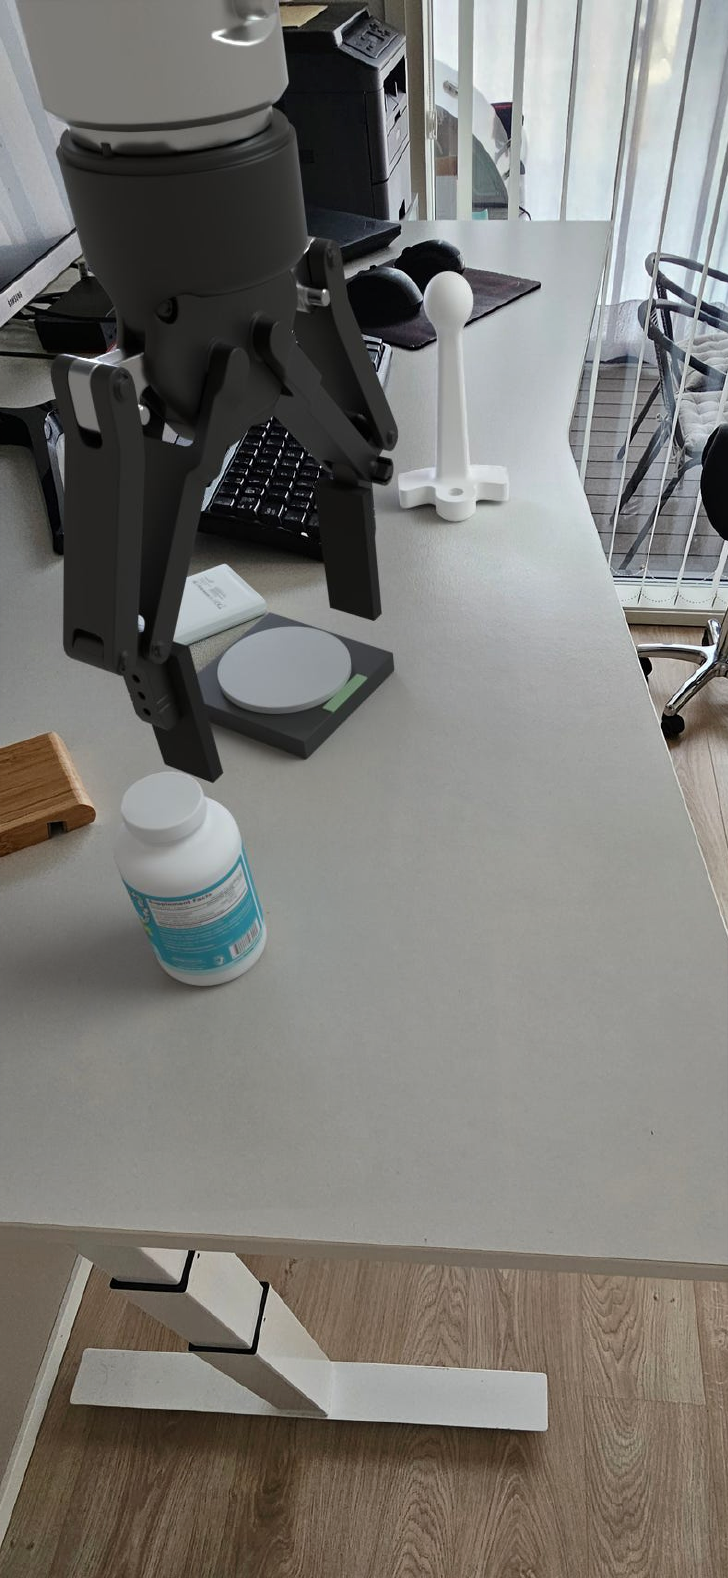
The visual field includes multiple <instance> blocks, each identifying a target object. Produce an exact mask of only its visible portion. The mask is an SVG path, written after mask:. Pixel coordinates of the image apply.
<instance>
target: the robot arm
mask: <svg viewBox="0 0 728 1578" xmlns="http://www.w3.org/2000/svg"><path fill="white" fill-rule="evenodd" d="M14 2H15V7H16V11H17V15H18V18H19V22H20V26H21V30H22V34H23V38H24V41H25V45H26V48H27V53H28V56H29V61H30V65H31V68H32V71H33V75H34V80H35V83H36V87H37V90H38V94H39V98H40V102H41V105H42V109H43V110H44V111H46V112H47V113H48V114H49V115H51V116H52V117H53V118H54V119H55V120H56V121H58V122H61V123H63V124H66V127H67V128H65V130H64V131H63V132H62V133H61V135H60V137H59V144H58V145H57V147H56V150H55V155H56V159H57V164H58V167H59V172H60V175H61V178H62V182H63V186H64V190H65V193H66V197H67V200H68V205H69V209H70V212H71V215H72V219H73V224H74V226H75V227H74V228H75V231H76V234H77V239H78V242H79V245H80V249H81V253H82V256H83V259H84V263H85V264H86V266H87V268H88V270H89V272H91V274H92V275H93V276H94V277H95V278H96V280H97V281H98V283H99V284H100V285H101V286H102V288H103V290H104V291H105V292H106V294H107V295H108V296H109V299H110V301H111V303H112V305H113V308H114V312H115V320H116V345H115V350H112V351H109V352H106V353H105V354H102V355H98V356H97V357H93V358H90V359H88V358H83V357H80V356H75V355H71V354H66V353H62V354H58V355H57V356H56V357H54V359H53V361H52V362H51V366H50V371H49V372H50V381H51V386H52V391H53V393H54V397H55V402H56V406H57V410H58V415H59V419H60V423H61V427H62V432H63V435H64V436H63V437H64V439H63V441H64V445H63V446H64V449H63V451H64V453H63V459H64V460H63V465H64V466H63V574H62V575H63V580H62V581H63V584H62V585H63V587H62V588H63V589H62V591H63V593H62V597H63V598H62V599H63V600H62V608H63V609H62V617H63V618H62V646H63V651H64V653H65V655H66V656H67V657H69V658H70V659H72V660H75V661H78V662H81V663H84V664H85V665H89V666H92V667H95V668H97V669H100V670H103V671H106V672H109V673H111V674H114V675H117V676H120V677H123V680H124V683H125V687H126V689H127V692H128V694H129V698H130V700H131V702H132V703H131V704H132V707H133V710H134V712H135V714H136V716H137V717H138V718H139V720H141V721H142V722H144V723H147V724H150V725H151V727H152V730H153V733H154V737H155V740H156V742H157V745H158V749H159V751H160V754H161V757H162V760H163V764H164V766H167V767H170V768H172V769H175V770H178V771H179V772H180V771H181V772H183V773H184V774H187V775H189V776H193V777H196V778H198V779H201V780H204V781H206V782H209V783H212V784H214V783H215V782H216V781H217V780H219V779H220V777H221V776H222V775H223V774H224V770H223V766H222V763H221V758H220V755H219V752H218V747H217V743H216V740H215V736H214V733H213V729H212V725H211V722H210V721H209V718H208V714H207V710H206V707H205V703H204V699H203V696H202V692H201V688H200V684H199V681H198V677H197V673H198V672H197V670H196V666H195V663H194V659H193V655H192V652H191V651H192V650H191V648H190V646H189V645H183V644H180V643H177V642H174V641H173V639H174V634H175V629H176V625H177V620H178V616H179V611H180V606H181V602H182V597H183V592H184V588H185V583H186V579H187V577H188V574H189V568H190V564H191V559H192V554H193V552H194V551H193V550H194V546H195V542H196V536H197V532H198V527H199V523H200V519H201V514H202V509H203V504H204V499H205V495H206V490H207V486H208V485H209V484H210V483H211V482H213V481H215V480H216V479H218V477H219V476H220V475H221V472H222V470H223V465H224V462H225V461H224V460H225V456H226V452H227V449H230V448H232V447H234V445H236V444H237V443H238V442H240V441H241V440H242V439H243V437H244V436H245V435H246V433H247V432H248V431H249V430H250V429H251V428H252V426H254V425H259V424H265V423H266V422H268V421H270V419H272V418H273V417H274V418H276V419H277V421H279V423H280V424H281V425H282V426H283V427H284V428H285V429H286V431H288V433H290V434H291V436H292V437H293V438H294V439H295V440H296V441H297V442H298V443H299V444H300V445H301V446H302V448H304V450H305V451H306V452H307V453H308V454H309V455H310V456H311V457H312V458H313V459H314V460H315V461H316V463H318V465H319V466H321V468H322V469H323V470H324V471H326V472H328V473H331V478H329V477H326V476H320V477H319V479H317V480H316V481H314V482H313V484H312V485H313V492H314V498H315V507H316V514H317V515H316V516H317V521H318V530H319V536H320V544H321V545H320V546H321V553H322V559H323V567H324V573H325V581H326V589H327V596H328V603H329V604H328V605H329V608H330V609H332V610H336V611H339V612H343V613H346V614H349V615H352V616H356V617H359V618H362V619H365V620H369V621H371V622H372V621H373V622H375V621H376V620H377V619H378V618H380V616H381V615H382V614H383V611H382V602H381V600H382V598H381V589H380V577H379V566H378V565H379V564H378V554H377V544H376V532H377V522H376V511H375V499H374V498H375V497H374V487H373V484H376V485H379V486H384V487H386V486H388V485H389V484H390V483H391V482H392V479H393V476H394V470H395V469H394V461H393V459H392V458H390V457H385V456H381V454H382V453H383V451H387V452H392V451H394V450H395V447H396V445H397V444H398V439H399V428H398V425H397V423H396V419H395V417H394V414H393V412H392V410H391V409H392V408H391V406H390V404H389V402H388V400H387V396H386V393H385V391H384V389H383V386H382V383H381V381H380V378H379V377H378V373H377V371H376V367H375V365H374V363H373V361H372V358H371V357H372V356H371V355H370V352H369V350H368V348H367V345H366V342H365V339H364V337H363V334H362V332H361V329H360V326H359V324H358V321H357V319H356V316H355V313H354V310H353V309H352V305H351V303H350V300H349V296H348V289H347V282H346V277H345V276H346V274H345V270H344V269H345V268H344V263H343V256H342V251H341V247H340V244H339V243H338V241H337V240H334V239H328V238H322V237H316V236H309V235H308V226H307V219H306V218H307V217H306V210H305V209H306V208H305V202H304V201H305V200H304V199H305V198H304V193H303V192H304V191H303V183H302V174H301V165H300V156H299V147H298V141H297V131H296V128H295V127H294V125H293V124H292V123H290V122H289V119H288V117H287V116H286V115H285V114H284V113H283V112H282V111H281V110H280V109H278V108H276V107H274V106H273V105H274V104H276V103H277V102H278V101H279V100H280V99H281V97H282V96H283V94H284V92H285V91H286V89H287V87H288V85H289V83H290V82H289V74H288V65H287V59H286V50H285V42H284V35H283V26H282V17H281V10H280V3H279V0H14ZM297 342H298V343H297ZM166 425H167V426H168V427H169V428H170V429H171V431H172V432H174V433H175V434H176V435H177V436H179V437H180V438H182V439H185V440H187V441H191V442H192V443H190V444H189V445H182V444H178V443H175V442H170V441H166V440H164V439H163V438H164V431H165V426H166ZM139 615H140V616H141V617H143V619H144V626H142V625H139V624H138V619H139Z"/></svg>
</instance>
